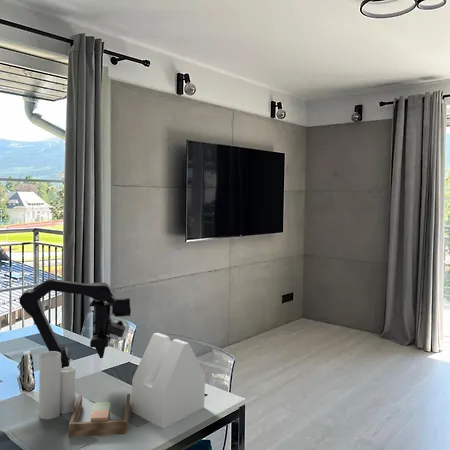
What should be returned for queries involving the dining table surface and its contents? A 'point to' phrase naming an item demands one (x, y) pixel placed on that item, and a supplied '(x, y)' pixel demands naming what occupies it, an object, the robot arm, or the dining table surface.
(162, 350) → the white slotted block
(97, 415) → the terracotta block
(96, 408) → the sage block
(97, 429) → the box
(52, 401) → the white tubes
